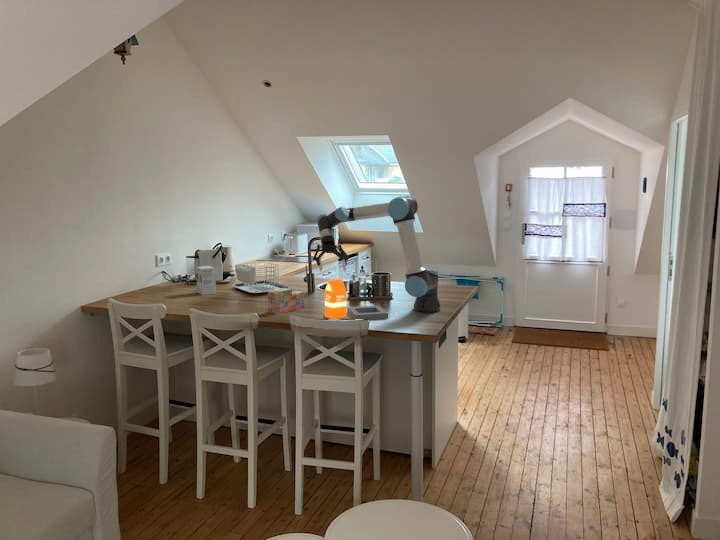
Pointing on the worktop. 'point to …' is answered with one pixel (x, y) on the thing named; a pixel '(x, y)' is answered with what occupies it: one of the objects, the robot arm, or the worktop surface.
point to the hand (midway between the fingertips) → (333, 270)
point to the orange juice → (335, 299)
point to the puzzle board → (367, 312)
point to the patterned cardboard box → (284, 300)
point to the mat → (339, 318)
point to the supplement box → (206, 280)
